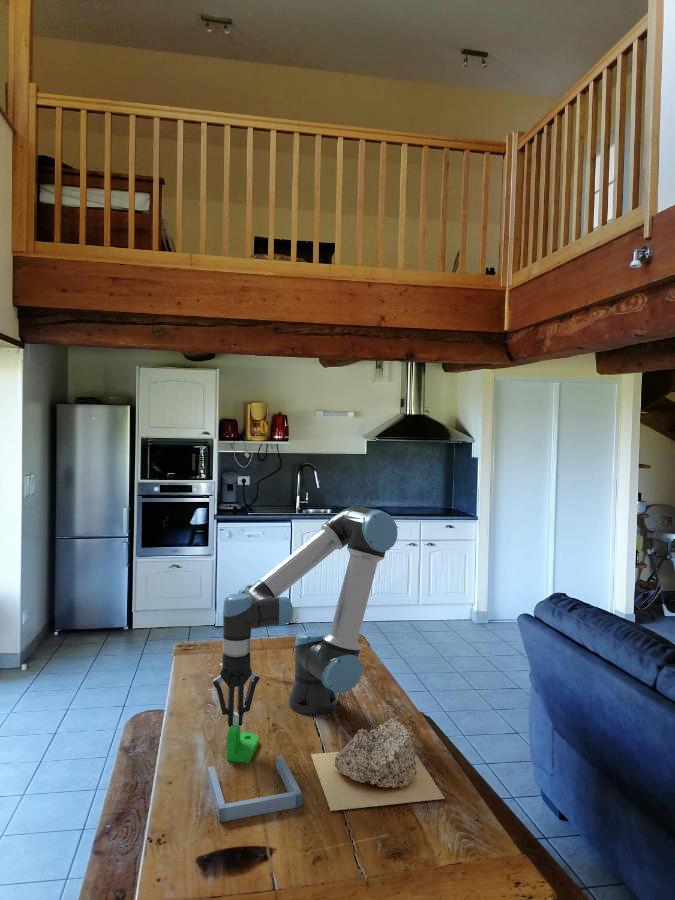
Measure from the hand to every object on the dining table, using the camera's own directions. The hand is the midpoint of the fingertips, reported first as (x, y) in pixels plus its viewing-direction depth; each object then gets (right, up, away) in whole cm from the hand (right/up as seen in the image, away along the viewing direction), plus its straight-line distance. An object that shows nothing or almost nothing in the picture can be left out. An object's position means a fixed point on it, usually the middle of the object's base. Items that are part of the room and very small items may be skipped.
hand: (234, 737), depth 172 cm
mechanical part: (+3, -3, -2) cm, 4 cm away
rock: (+36, -8, -10) cm, 39 cm away
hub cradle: (+8, -3, -21) cm, 23 cm away
